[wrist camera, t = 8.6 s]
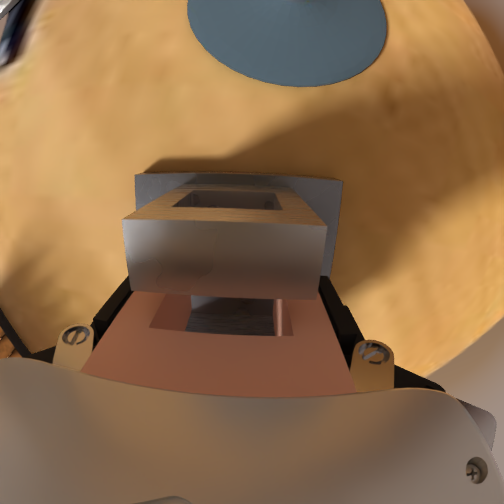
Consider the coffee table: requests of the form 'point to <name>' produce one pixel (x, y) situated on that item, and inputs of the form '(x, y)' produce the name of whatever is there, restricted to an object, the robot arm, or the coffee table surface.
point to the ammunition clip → (10, 340)
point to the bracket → (232, 243)
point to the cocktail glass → (291, 37)
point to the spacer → (222, 351)
